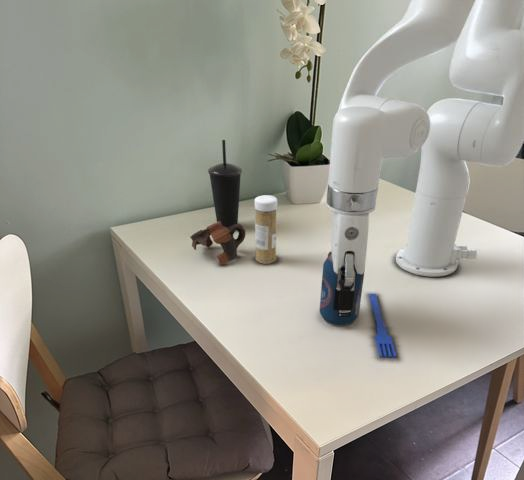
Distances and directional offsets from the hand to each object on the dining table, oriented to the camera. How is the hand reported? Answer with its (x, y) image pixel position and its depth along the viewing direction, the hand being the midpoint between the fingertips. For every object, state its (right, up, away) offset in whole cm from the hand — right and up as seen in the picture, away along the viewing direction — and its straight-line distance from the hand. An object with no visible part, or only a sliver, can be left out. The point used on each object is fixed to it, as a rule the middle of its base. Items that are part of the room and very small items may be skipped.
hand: (340, 296), depth 88 cm
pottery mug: (-23, +12, +23) cm, 34 cm away
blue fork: (+7, -5, +1) cm, 9 cm away
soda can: (0, -4, +3) cm, 4 cm away
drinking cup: (-22, +21, +35) cm, 46 cm away
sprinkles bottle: (-13, +10, +21) cm, 26 cm away
